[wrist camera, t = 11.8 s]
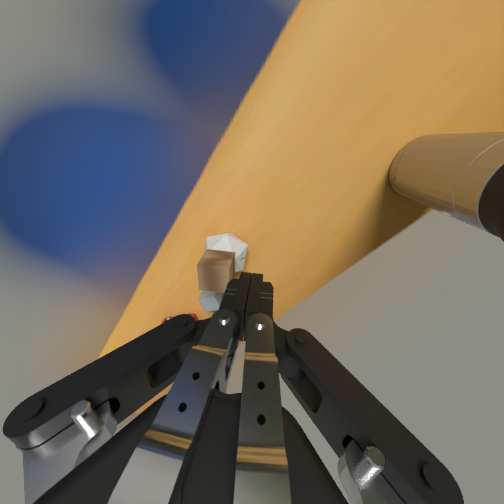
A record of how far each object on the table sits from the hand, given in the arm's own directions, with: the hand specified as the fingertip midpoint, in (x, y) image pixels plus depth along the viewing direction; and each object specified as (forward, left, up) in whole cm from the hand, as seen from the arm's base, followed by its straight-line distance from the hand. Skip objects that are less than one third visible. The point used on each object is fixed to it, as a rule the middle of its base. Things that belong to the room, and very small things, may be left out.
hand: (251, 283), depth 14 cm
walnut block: (+7, +11, -19) cm, 23 cm away
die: (+7, +11, -27) cm, 30 cm away
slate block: (+11, +25, -27) cm, 38 cm away
